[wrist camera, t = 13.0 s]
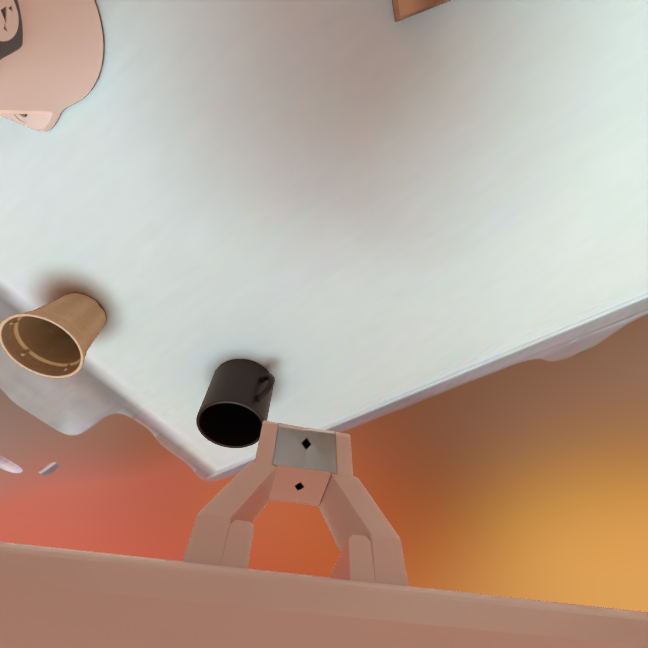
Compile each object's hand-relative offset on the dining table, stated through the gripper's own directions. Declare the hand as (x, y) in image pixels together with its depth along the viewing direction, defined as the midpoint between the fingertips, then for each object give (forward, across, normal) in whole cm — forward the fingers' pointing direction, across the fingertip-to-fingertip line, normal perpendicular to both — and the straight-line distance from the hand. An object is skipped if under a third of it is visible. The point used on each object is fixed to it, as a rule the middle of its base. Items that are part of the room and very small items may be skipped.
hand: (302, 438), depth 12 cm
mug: (+34, +5, +29) cm, 45 cm away
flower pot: (+34, +29, +22) cm, 50 cm away
